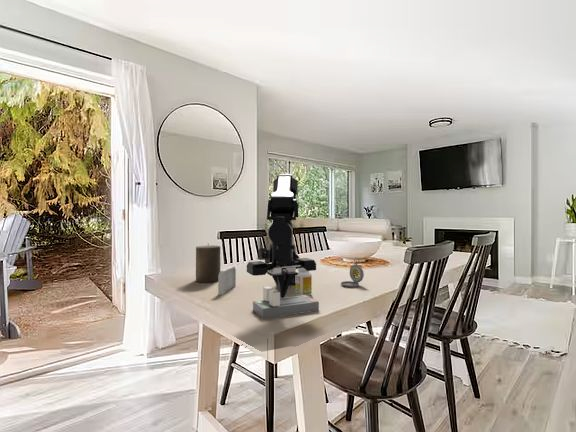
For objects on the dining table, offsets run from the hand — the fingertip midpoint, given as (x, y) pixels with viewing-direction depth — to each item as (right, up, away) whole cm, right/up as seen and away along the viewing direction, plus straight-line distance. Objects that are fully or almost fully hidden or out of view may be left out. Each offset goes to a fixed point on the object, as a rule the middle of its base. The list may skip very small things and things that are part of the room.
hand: (282, 297), depth 90 cm
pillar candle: (-30, -4, +42) cm, 52 cm away
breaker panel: (+1, -5, +3) cm, 6 cm away
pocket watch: (+26, -4, +34) cm, 43 cm away
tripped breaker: (-2, -2, -1) cm, 3 cm away
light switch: (-20, -4, +26) cm, 33 cm away
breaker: (-4, -2, +4) cm, 6 cm away
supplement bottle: (+7, -4, +20) cm, 22 cm away
